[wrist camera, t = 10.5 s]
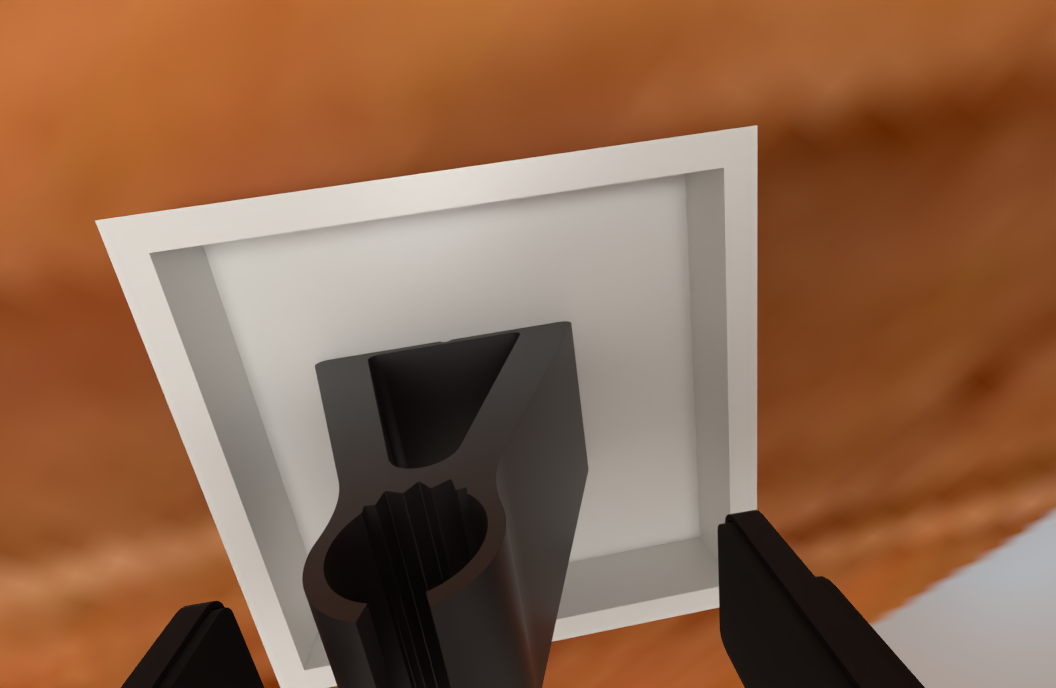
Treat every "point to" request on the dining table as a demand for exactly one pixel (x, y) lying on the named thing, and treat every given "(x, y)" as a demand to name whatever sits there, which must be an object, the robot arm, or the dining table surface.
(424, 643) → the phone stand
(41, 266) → the dining table surface
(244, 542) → the tray
